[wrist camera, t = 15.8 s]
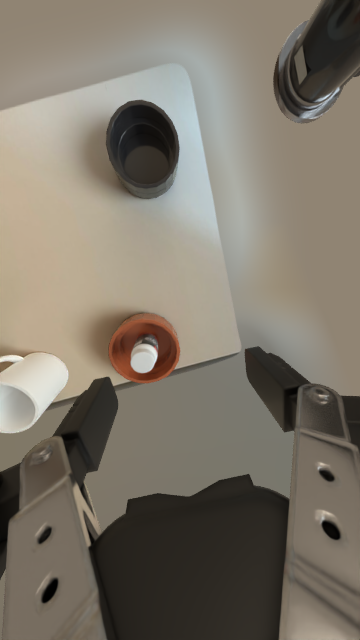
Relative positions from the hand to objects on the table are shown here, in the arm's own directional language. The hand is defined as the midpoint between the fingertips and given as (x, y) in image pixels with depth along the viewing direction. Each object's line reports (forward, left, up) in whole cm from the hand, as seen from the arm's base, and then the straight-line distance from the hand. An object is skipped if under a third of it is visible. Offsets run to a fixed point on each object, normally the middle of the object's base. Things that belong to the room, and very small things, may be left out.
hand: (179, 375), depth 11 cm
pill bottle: (+6, +9, -27) cm, 29 cm away
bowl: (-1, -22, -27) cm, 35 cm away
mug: (+29, +10, -28) cm, 41 cm away
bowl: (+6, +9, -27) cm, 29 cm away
